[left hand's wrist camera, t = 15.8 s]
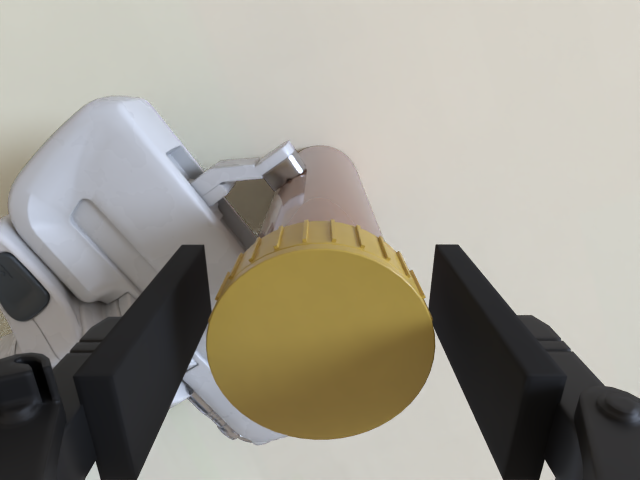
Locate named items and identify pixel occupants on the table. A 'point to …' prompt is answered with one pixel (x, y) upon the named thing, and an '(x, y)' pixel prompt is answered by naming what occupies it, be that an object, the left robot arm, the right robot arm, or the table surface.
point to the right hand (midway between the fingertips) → (334, 207)
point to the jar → (322, 194)
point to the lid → (320, 332)
